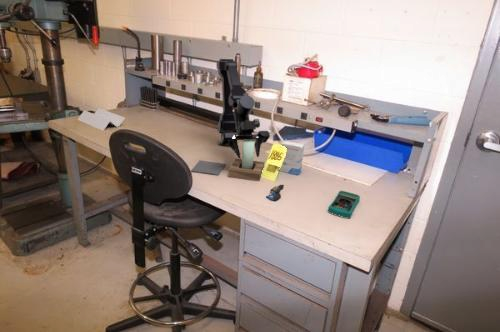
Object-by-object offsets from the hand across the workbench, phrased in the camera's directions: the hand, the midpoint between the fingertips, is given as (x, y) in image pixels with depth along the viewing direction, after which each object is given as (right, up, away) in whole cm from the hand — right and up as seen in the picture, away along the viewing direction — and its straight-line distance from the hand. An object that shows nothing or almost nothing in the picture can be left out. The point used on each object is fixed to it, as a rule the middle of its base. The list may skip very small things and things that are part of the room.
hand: (249, 157), depth 132 cm
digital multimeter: (+32, -17, -16) cm, 40 cm away
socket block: (-1, -6, +4) cm, 7 cm away
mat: (-16, -4, +6) cm, 18 cm away
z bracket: (-79, +19, +51) cm, 96 cm away
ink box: (+17, -5, +9) cm, 20 cm away
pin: (-1, -6, +4) cm, 7 cm away
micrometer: (+10, -14, -10) cm, 20 cm away
